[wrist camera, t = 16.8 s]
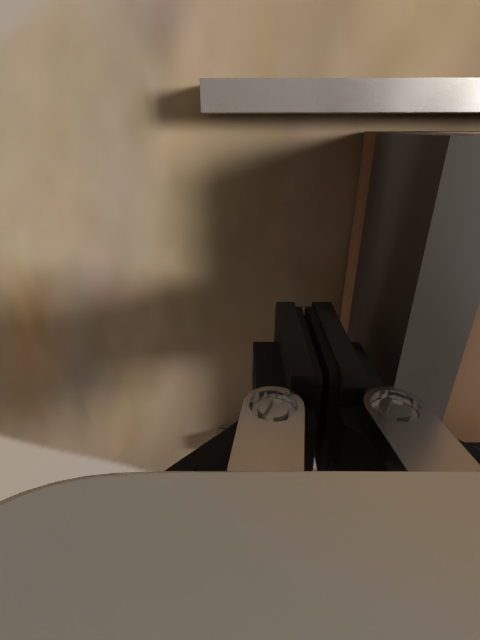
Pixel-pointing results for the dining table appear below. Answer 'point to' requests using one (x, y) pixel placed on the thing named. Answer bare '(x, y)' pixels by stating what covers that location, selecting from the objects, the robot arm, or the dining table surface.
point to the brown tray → (419, 269)
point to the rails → (340, 100)
